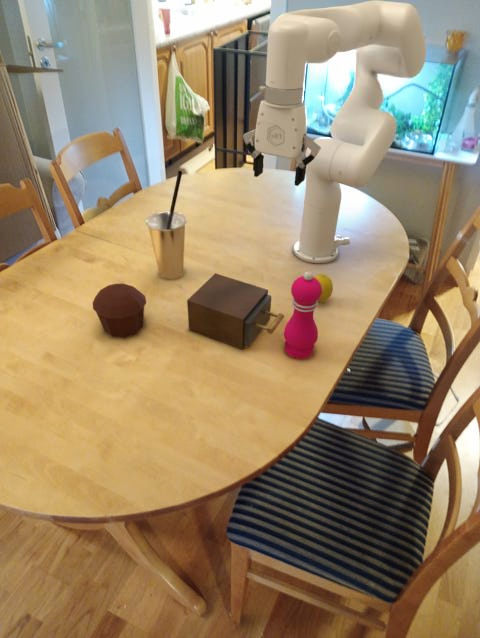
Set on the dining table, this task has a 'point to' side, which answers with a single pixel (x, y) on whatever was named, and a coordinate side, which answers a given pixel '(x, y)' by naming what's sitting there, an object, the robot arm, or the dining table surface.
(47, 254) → the dining table surface
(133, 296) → the muffin
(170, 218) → the metal cup with straw
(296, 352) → the pepper mill
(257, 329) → the drawer
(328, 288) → the lemon
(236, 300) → the cabinet
